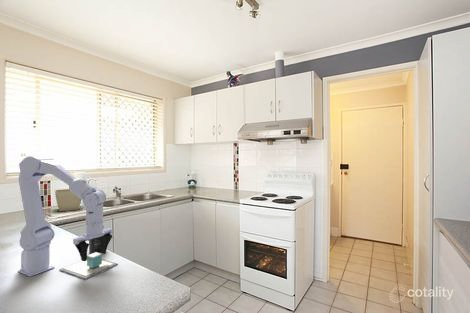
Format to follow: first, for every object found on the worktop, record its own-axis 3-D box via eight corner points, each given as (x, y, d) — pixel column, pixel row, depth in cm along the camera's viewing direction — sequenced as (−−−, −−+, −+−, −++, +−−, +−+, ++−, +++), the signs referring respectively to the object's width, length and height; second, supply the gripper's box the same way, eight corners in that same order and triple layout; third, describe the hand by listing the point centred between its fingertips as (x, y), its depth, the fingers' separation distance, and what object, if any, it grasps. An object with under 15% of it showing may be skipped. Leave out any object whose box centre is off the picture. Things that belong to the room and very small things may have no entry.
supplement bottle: (108, 248, 111) (108, 223, 112) (100, 254, 105) (101, 227, 105) (94, 248, 111) (94, 223, 111) (85, 254, 104) (85, 227, 104)
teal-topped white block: (86, 268, 89) (86, 255, 89) (95, 264, 93) (95, 252, 93) (92, 270, 88) (92, 257, 88) (101, 266, 91) (101, 253, 91)
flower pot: (80, 206, 212) (80, 188, 212) (83, 209, 197) (83, 190, 198) (54, 209, 200) (54, 189, 200) (55, 213, 185) (55, 192, 185)
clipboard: (59, 270, 89) (59, 267, 89) (92, 257, 101) (92, 254, 101) (85, 279, 82) (85, 276, 82) (117, 264, 94) (117, 261, 94)
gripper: (81, 228, 82) (81, 266, 82) (117, 218, 95) (117, 251, 95) (70, 225, 85) (69, 262, 85) (106, 217, 98) (106, 249, 98)
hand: (93, 256), depth 90 cm, fingers open, 7 cm apart
